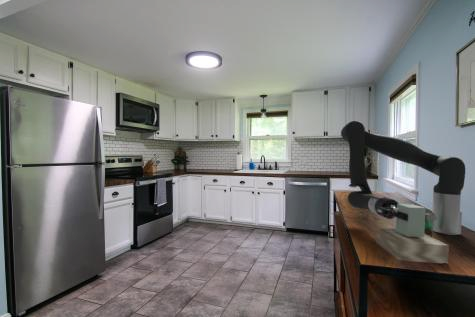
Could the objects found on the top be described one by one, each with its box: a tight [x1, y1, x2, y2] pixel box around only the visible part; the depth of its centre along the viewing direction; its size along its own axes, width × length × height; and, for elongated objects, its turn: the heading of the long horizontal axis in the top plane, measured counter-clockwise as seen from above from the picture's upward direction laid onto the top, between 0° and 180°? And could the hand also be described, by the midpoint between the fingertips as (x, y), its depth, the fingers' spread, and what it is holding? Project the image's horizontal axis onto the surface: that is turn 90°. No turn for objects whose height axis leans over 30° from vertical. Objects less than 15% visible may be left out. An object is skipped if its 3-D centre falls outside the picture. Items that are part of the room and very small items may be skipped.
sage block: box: [395, 203, 427, 237], centre depth 83 cm, size 6×6×10 cm
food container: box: [424, 210, 437, 238], centre depth 102 cm, size 12×6×10 cm, turn 168°
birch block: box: [376, 227, 450, 265], centre depth 83 cm, size 14×15×6 cm
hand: (416, 218), depth 80 cm, fingers closed on sage block, 5 cm apart
